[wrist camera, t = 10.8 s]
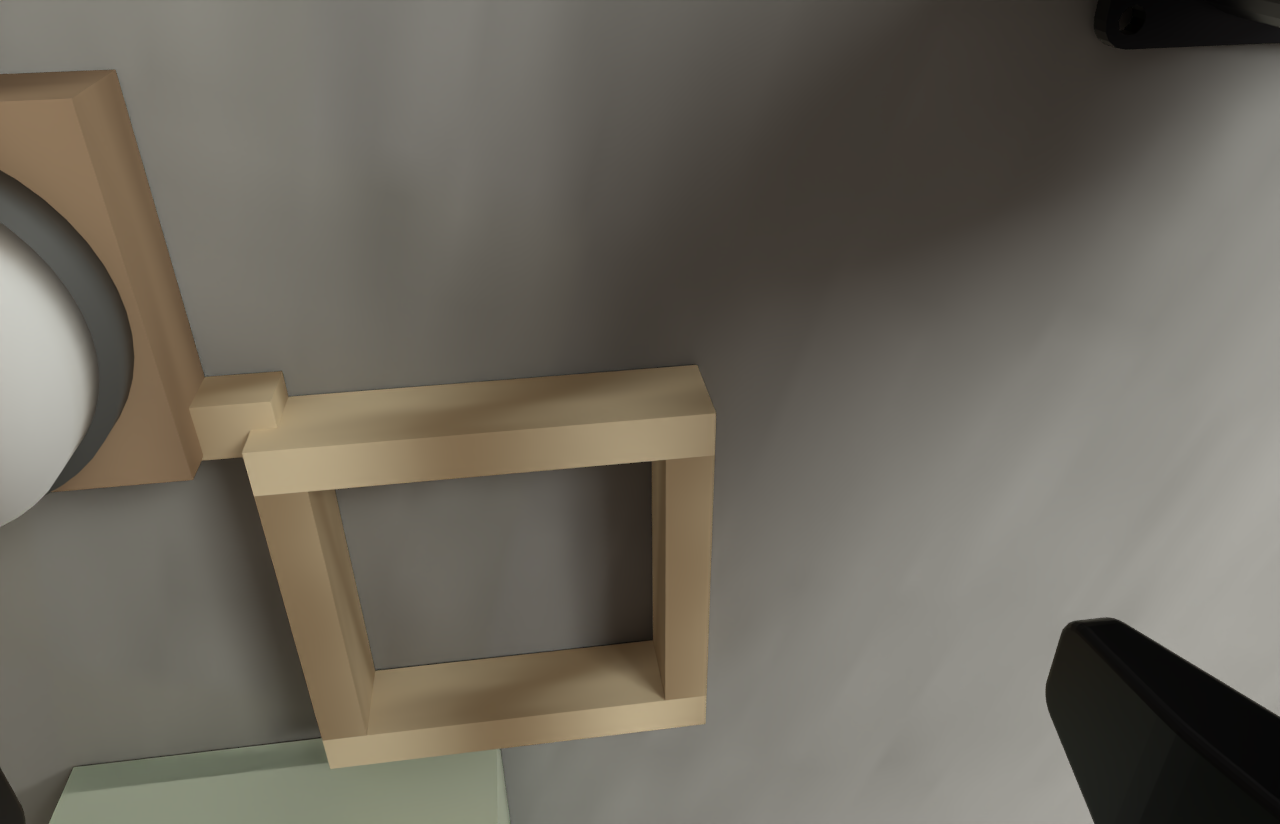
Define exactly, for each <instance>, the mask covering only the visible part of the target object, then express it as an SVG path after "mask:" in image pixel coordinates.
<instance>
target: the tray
mask: <svg viewBox="0 0 1280 824" xmlns="http://www.w3.org/2000/svg"><path fill="white" fill-rule="evenodd" d="M49 824H511V823H510V815H509V808H508V800H507V793H506V785H505V778H504V771H503V763H502V756H501V749H493V750H485V751H476V752H468V753H460V754H451V755H443V756H435V757H426V758H418V759H410V760H402V761H393V762H385V763H377V764H368V765H360V766H352V767H343V768H335V769H330V766H329V762H328V759H327V755H326V752H325V748H324V745H323V741H322V738H320V739H311V740H302V741H294V742H285V743H277V744H268V745H260V746H251V747H243V748H234V749H225V750H217V751H208V752H200V753H191V754H183V755H174V756H166V757H157V758H148V759H140V760H131V761H123V762H114V763H106V764H97V765H88V766H80V767H73V770H72V772H71V774H70V776H69V779H68V781H67V783H66V786H65V788H64V790H63V792H62V795H61V797H60V799H59V802H58V804H57V806H56V808H55V811H54V813H53V815H52V817H51V820H50V822H49Z"/></svg>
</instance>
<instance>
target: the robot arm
mask: <svg viewBox="0 0 1280 824" xmlns="http://www.w3.org/2000/svg"><path fill="white" fill-rule="evenodd" d="M1131 6H1132V8H1133V17H1132V19H1131V21H1130V23H1129V25H1127V26H1126V27H1125V28H1124V29H1123V30H1119V19H1120V17H1121V15H1122V13H1123V12H1124V11H1125V10H1126V9H1127V8H1128V7H1131ZM1094 30H1095V33H1096V36H1097V38H1098V39H1099V40H1101V41H1102V42H1103V43H1104V44H1107V45H1110V46H1113V47H1115V48H1120V49H1146V48H1169V47H1193V46H1216V45H1239V44H1262V43H1280V0H1098V4H1097V8H1096V12H1095V17H1094ZM1046 703H1047V707H1048V710H1049V713H1050V716H1051V719H1052V721H1053V723H1054V726H1055V728H1056V731H1057V733H1058V736H1059V738H1060V741H1061V743H1062V745H1063V748H1064V750H1065V753H1066V755H1067V758H1068V760H1069V763H1070V765H1071V767H1072V770H1073V772H1074V775H1075V777H1076V780H1077V782H1078V785H1079V787H1080V790H1081V792H1082V794H1083V797H1084V799H1085V802H1086V804H1087V807H1088V809H1089V812H1090V814H1091V816H1092V819H1093V821H1094V824H1280V717H1279V716H1278V715H1276V714H1274V713H1273V712H1271V711H1269V710H1268V709H1266V708H1265V707H1263V706H1261V705H1260V704H1258V703H1256V702H1255V701H1253V700H1251V699H1250V698H1248V697H1246V696H1245V695H1243V694H1241V693H1240V692H1238V691H1236V690H1235V689H1233V688H1231V687H1230V686H1228V685H1226V684H1225V683H1223V682H1221V681H1220V680H1218V679H1216V678H1215V677H1213V676H1212V675H1210V674H1208V673H1207V672H1205V671H1203V670H1202V669H1200V668H1198V667H1197V666H1195V665H1193V664H1192V663H1190V662H1188V661H1187V660H1185V659H1183V658H1182V657H1180V656H1178V655H1177V654H1175V653H1173V652H1172V651H1170V650H1168V649H1167V648H1165V647H1164V646H1162V645H1160V644H1159V643H1157V642H1155V641H1154V640H1152V639H1150V638H1149V637H1147V636H1145V635H1144V634H1142V633H1140V632H1139V631H1137V630H1135V629H1134V628H1132V627H1130V626H1129V625H1127V624H1125V623H1124V622H1122V621H1120V620H1117V619H1114V618H1108V617H1106V618H1096V619H1087V620H1078V621H1073V622H1070V623H1069V624H1068V625H1067V626H1066V627H1065V628H1064V629H1063V631H1062V633H1061V636H1060V639H1059V642H1058V646H1057V649H1056V652H1055V656H1054V659H1053V662H1052V666H1051V669H1050V672H1049V676H1048V679H1047V682H1046ZM0 824H25V816H24V811H23V808H22V806H21V804H20V802H19V800H18V799H17V797H16V795H15V793H14V791H13V790H12V788H11V786H10V784H9V782H8V781H7V779H6V777H5V775H4V773H3V772H2V770H1V768H0Z"/></svg>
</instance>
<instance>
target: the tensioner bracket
mask: <svg viewBox="0 0 1280 824" xmlns="http://www.w3.org/2000/svg"><path fill="white" fill-rule="evenodd" d="M715 433H716V412H715V409H714V407H713V404H712V401H711V399H710V396H709V394H708V391H707V389H706V386H705V384H704V381H703V379H702V376H701V373H700V371H699V368H698V366H697V365H688V366H676V367H663V368H650V369H637V370H624V371H612V372H599V373H586V374H573V375H560V376H548V377H535V378H522V379H509V380H496V381H484V382H471V383H458V384H445V385H432V386H420V387H407V388H394V389H381V390H368V391H356V392H343V393H330V394H317V395H305V396H292V397H288V393H287V389H286V385H285V381H284V377H283V373H282V371H278V372H264V373H251V374H238V375H224V376H211V377H204V373H203V370H202V366H201V363H200V359H199V356H198V353H197V349H196V346H195V342H194V339H193V335H192V332H191V328H190V325H189V322H188V318H187V315H186V311H185V308H184V304H183V301H182V297H181V294H180V291H179V287H178V284H177V280H176V277H175V273H174V270H173V266H172V263H171V260H170V256H169V253H168V249H167V246H166V242H165V239H164V235H163V232H162V229H161V225H160V222H159V218H158V215H157V211H156V208H155V204H154V201H153V198H152V194H151V191H150V187H149V184H148V180H147V177H146V173H145V170H144V167H143V163H142V160H141V156H140V153H139V149H138V146H137V142H136V139H135V135H134V132H133V129H132V125H131V122H130V118H129V115H128V111H127V108H126V104H125V101H124V98H123V94H122V91H121V87H120V84H119V80H118V77H117V73H116V70H93V71H69V72H44V73H20V74H0V527H1V526H3V525H5V524H7V523H9V522H11V521H12V520H14V519H16V518H18V517H20V516H21V515H22V514H23V513H25V512H26V511H27V510H29V509H30V508H31V507H33V506H34V505H35V504H36V503H37V502H38V501H39V500H40V499H41V498H42V497H43V496H44V495H46V494H48V493H50V492H59V491H70V490H82V489H93V488H105V487H116V486H128V485H140V484H151V483H163V482H174V481H186V480H193V479H194V476H195V474H196V472H197V470H198V467H199V465H200V463H201V461H203V460H215V459H227V458H238V457H243V459H244V463H245V466H246V470H247V473H248V477H249V480H250V484H251V488H252V491H253V495H254V498H255V502H256V505H257V509H258V512H259V516H260V520H261V523H262V527H263V530H264V534H265V537H266V541H267V545H268V548H269V552H270V555H271V559H272V562H273V566H274V570H275V573H276V577H277V580H278V584H279V587H280V591H281V595H282V598H283V602H284V605H285V609H286V612H287V616H288V620H289V623H290V627H291V630H292V634H293V637H294V641H295V645H296V648H297V652H298V655H299V659H300V662H301V666H302V670H303V673H304V677H305V680H306V684H307V687H308V691H309V695H310V698H311V702H312V705H313V709H314V712H315V716H316V720H317V723H318V727H319V730H320V734H321V737H322V741H323V745H324V748H325V752H326V755H327V759H328V762H329V766H330V769H335V768H343V767H352V766H360V765H368V764H377V763H385V762H393V761H402V760H410V759H418V758H426V757H435V756H443V755H451V754H460V753H468V752H476V751H485V750H493V749H501V748H509V747H518V746H526V745H534V744H543V743H551V742H559V741H568V740H576V739H584V738H592V737H601V736H609V735H617V734H626V733H634V732H642V731H651V730H659V729H667V728H676V727H684V726H692V725H700V724H705V719H706V691H707V662H708V633H709V605H710V576H711V547H712V519H713V490H714V461H715ZM646 461H652V580H653V640H651V641H642V642H633V643H624V644H615V645H606V646H597V647H588V648H579V649H570V650H560V651H551V652H542V653H533V654H524V655H515V656H506V657H497V658H488V659H479V660H469V661H460V662H451V663H442V664H433V665H424V666H415V667H406V668H397V669H388V670H379V671H375V668H374V663H373V659H372V654H371V650H370V645H369V641H368V636H367V632H366V627H365V623H364V618H363V614H362V610H361V605H360V601H359V596H358V592H357V587H356V583H355V578H354V574H353V569H352V565H351V560H350V556H349V551H348V547H347V543H346V538H345V534H344V529H343V525H342V520H341V516H340V511H339V507H338V502H337V498H336V493H335V489H343V488H354V487H365V486H376V485H387V484H399V483H410V482H421V481H432V480H444V479H455V478H466V477H477V476H489V475H500V474H511V473H522V472H534V471H545V470H556V469H567V468H579V467H590V466H601V465H612V464H624V463H635V462H646Z"/></svg>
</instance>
